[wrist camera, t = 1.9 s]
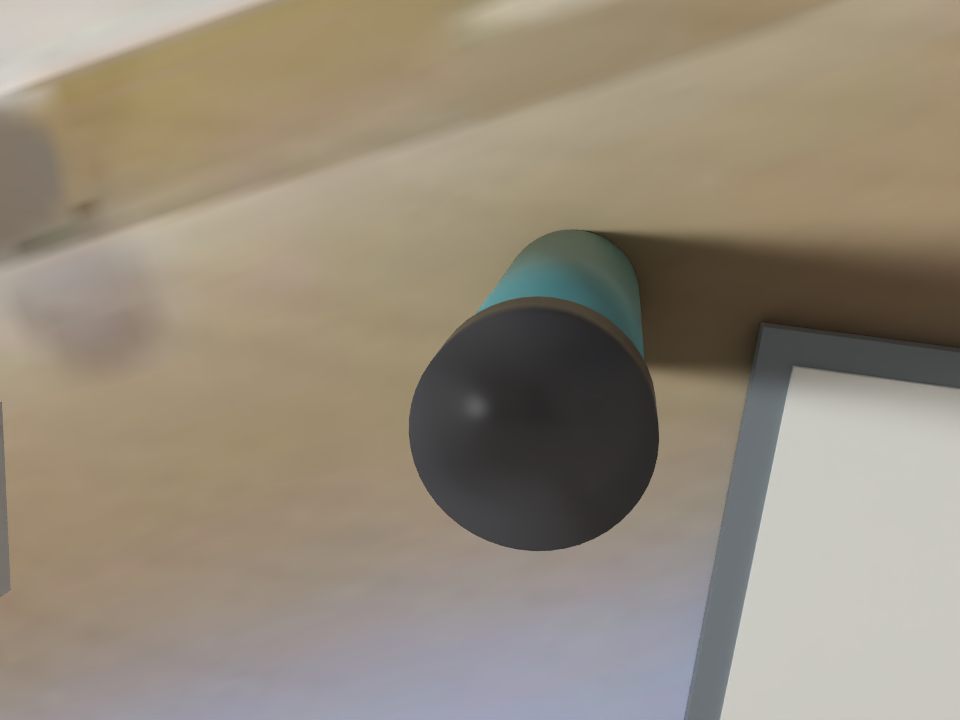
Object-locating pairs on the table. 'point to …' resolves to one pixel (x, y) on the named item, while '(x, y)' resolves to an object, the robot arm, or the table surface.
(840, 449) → the clipboard
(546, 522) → the marker
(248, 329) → the table surface
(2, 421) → the robot arm
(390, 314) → the table surface
